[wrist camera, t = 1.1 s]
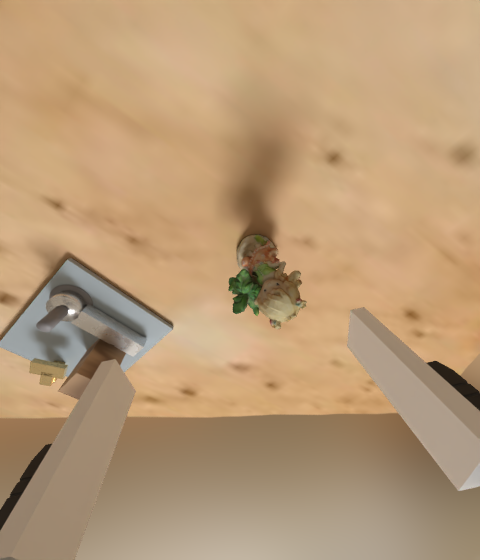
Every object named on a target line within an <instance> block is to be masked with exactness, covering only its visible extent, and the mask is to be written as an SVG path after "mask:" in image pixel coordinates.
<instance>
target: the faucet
mask: <svg viewBox="0 0 480 560" xmlns="http://www.w3.org/2000/svg"><path fill="white" fill-rule="evenodd" d="M56 306H64V307H65V308H67V309H68V314H67V315H66V316H65V317H64V318H63V319H62V320H61V321H66V322H68V321H72V322H71V323H72V324H74V325H76V326H77V327H79V328H81V329H83V330H85V331H87V332H88V333H90V334H92V335H94V336H96V337H98V338H99V339H101V340H103V341H105V342H107V343H109V344H110V345H112V346H114V347H116V348H118V349H120V350H122V351H123V352H125V353H127V354H129V355H131V356H133V357H134V356H135V355H136V354H137V353H138V352H139V351H140V350H141V349H142V348H144V346H145V343H146V341H147V339H146V338H145V337H143V336H141V335H140V334H138V333H136V332H135V331H133V330H131V329H130V328H128V327H126V326H125V325H123V324H121V323H120V322H118V321H116V320H115V319H113V318H111V317H110V316H108V315H106V314H105V313H103V312H101V311H100V310H98V309H96V308H95V307H93V306H91V305H90V304H88V305H87V304H86V301H85V299H84V298H83V297H82V296H81V295H80V294H79V293H77V292H74V291H71V290H63V291H60V292H58V293H57V294H56V295H54V296H53V297H52V298H50V299H49V300H48V301H47V303H46V310H47V312H48V313H49V312H50V311H52V310H53V309H54V308H55V307H56Z"/></svg>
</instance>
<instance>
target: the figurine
mask: <svg viewBox="0 0 480 560" xmlns="http://www.w3.org/2000/svg"><path fill="white" fill-rule="evenodd" d="M277 254H278V249H277V248H275V247H274V245H273V243H272V242H271V241H269V239H268V238H267V237H263V236H262V235H249V236H247V237H246V238H244V239H243V240H242V242H241V243H240V245H239V247H238V249H237V259H238V266H239V267H240V268H241V271H240V273H239V274H238V275H237V276H236V278H234V277H232V278H230V279H229V285H230V286H229V291H233V292H232V293H233V294H237V295H238V296H236V297H234V298H233V300H234V304H233V313H235V314H238V313H241V312H243V311H244V310H245V308H246V307H247V304H248V305H249V306H250V307H251V308H252V309H253V312H254V314H255V315H256V316H258V314H259V309H260V311H261V312H262V313H263V314H264V315H265V316H267V317H268V318H269V319H270V324H271V326H272V327H274V328H276V329H281V324H280V323H281V322H285V321H287V322H288V321H289V320H292V319H293V318H294V317H297V316H296V315H297V314H298V312H299V310H300V308H302V309H304V308H305V307H306V303H307V302H306V301H303V300H301V299H300V293H299V291H298V288H299V287H300V285H301V284H302V281H301V280H299V279H298V278H299V277H300V275H301V273H300V272H299V271H293V272H292V273H290V275H289V276H287V274H286V273H284V274H283V271H284V267H285V265H286V262H279V259H277V258H276V256H277ZM277 268H278V270H276V269H277ZM297 279H298V280H297Z"/></svg>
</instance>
